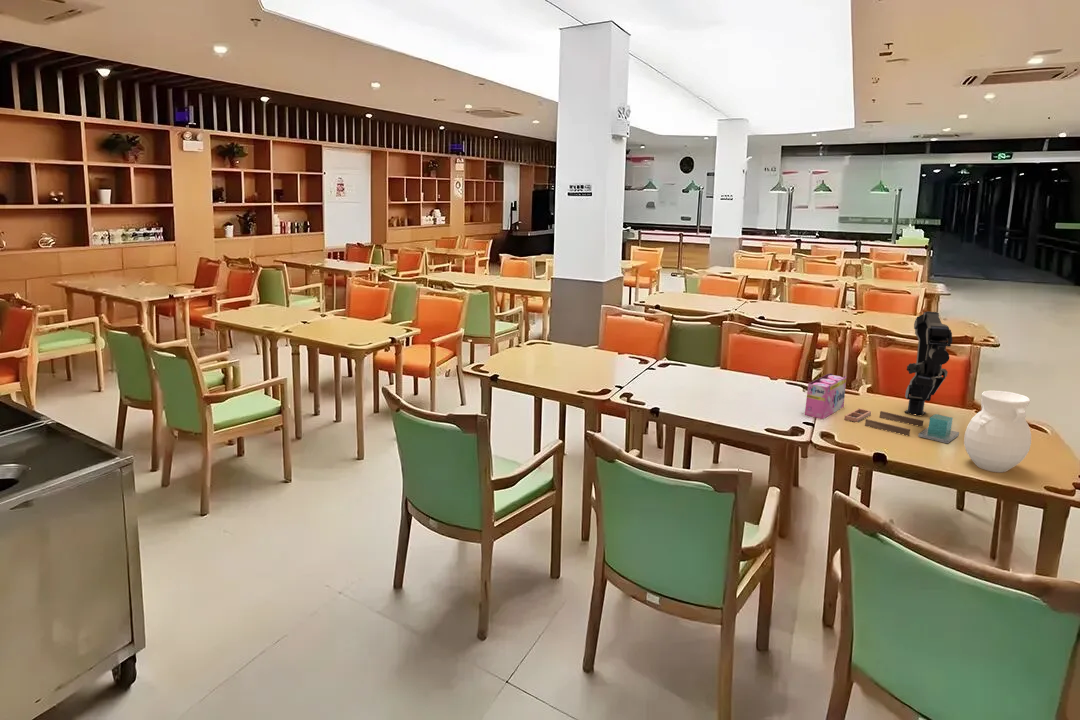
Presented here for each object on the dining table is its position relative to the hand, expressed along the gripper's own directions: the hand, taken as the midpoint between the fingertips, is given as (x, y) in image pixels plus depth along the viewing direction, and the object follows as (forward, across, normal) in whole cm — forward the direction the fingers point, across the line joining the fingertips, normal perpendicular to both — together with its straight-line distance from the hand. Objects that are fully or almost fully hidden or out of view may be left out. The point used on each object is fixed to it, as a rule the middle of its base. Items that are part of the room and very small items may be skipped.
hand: (928, 397), depth 268 cm
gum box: (+13, +7, -36) cm, 39 cm away
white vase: (+12, +25, +29) cm, 40 cm away
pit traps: (+13, +5, -23) cm, 27 cm away
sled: (+12, +6, +7) cm, 15 cm away
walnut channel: (+13, +6, -9) cm, 16 cm away
